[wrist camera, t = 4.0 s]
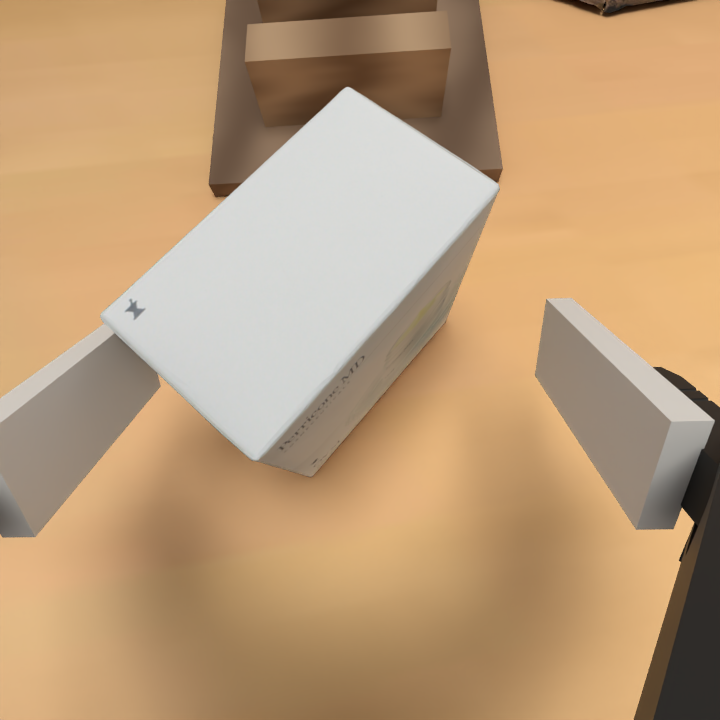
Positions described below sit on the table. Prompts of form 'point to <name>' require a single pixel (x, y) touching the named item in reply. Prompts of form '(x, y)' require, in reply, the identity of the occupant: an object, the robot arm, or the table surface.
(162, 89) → the table surface
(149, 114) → the table surface
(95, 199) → the table surface
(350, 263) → the skincare box
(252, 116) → the ridge board
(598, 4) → the wooden fragment
